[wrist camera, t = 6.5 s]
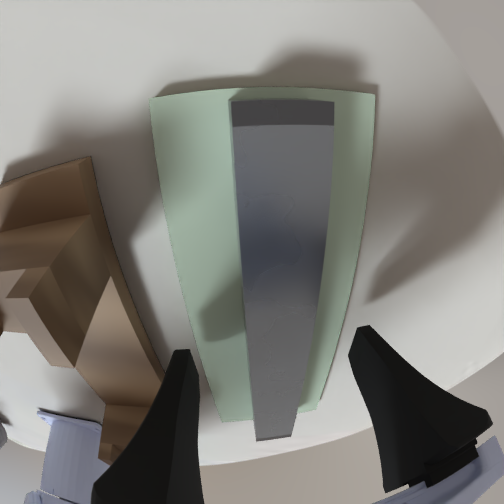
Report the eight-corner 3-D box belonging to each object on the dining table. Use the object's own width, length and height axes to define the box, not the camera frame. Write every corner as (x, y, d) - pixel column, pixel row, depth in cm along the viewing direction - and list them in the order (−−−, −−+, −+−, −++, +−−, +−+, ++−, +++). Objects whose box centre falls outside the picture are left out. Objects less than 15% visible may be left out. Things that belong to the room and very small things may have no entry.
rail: (286, 413, 18) (291, 436, 16) (253, 417, 17) (256, 441, 16) (308, 98, 7) (334, 102, 6) (228, 100, 7) (230, 101, 5)
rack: (190, 419, 18) (191, 479, 14) (130, 417, 18) (125, 474, 13) (90, 156, 8) (-5, 226, 4) (-1, 184, 8) (-81, 251, 3)
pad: (314, 403, 19) (315, 409, 18) (221, 415, 18) (221, 422, 18) (366, 93, 8) (374, 94, 7) (153, 98, 7) (148, 98, 7)
